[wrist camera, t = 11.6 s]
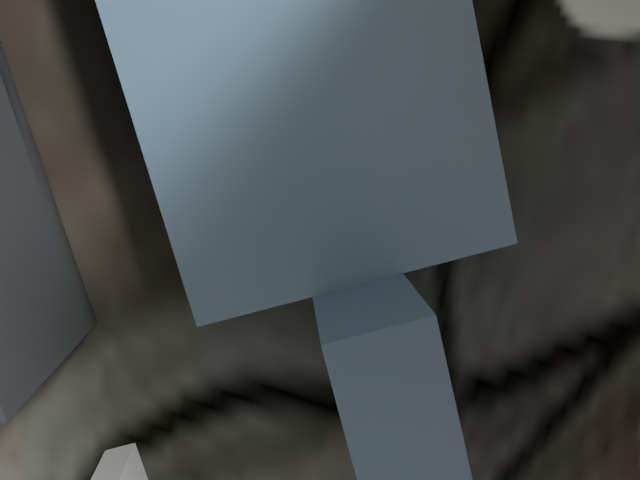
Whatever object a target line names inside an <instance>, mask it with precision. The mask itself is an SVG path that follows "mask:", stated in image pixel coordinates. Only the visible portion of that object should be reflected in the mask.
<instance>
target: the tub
mask: <svg viewBox="0 0 640 480" xmlns="http://www.w3.org/2000/svg"><path fill="white" fill-rule="evenodd" d="M96 324H97V323H96V320H95V317H94V314H93V312H92V309H91V306H90V303H89V300H88V297H87V294H86V291H85V288H84V285H83V282H82V279H81V277H80V274H79V271H78V268H77V265H76V262H75V259H74V256H73V253H72V250H71V247H70V244H69V241H68V239H67V236H66V233H65V230H64V227H63V224H62V221H61V218H60V215H59V212H58V209H57V206H56V203H55V201H54V198H53V195H52V192H51V189H50V186H49V183H48V180H47V177H46V174H45V171H44V168H43V166H42V163H41V160H40V157H39V154H38V151H37V148H36V145H35V142H34V139H33V136H32V133H31V130H30V128H29V125H28V122H27V119H26V116H25V113H24V110H23V107H22V104H21V101H20V98H19V95H18V92H17V90H16V87H15V84H14V81H13V78H12V75H11V72H10V69H9V66H8V63H7V60H6V57H5V55H4V52H3V49H2V46H1V43H0V424H4V423H8V421H9V420H10V419H11V418H12V417H13V416H14V415H15V414H16V413H17V411H18V410H19V409H20V408H21V407H22V406H23V405H24V404H25V403H26V401H27V400H28V399H29V398H30V397H31V396H32V395H33V394H34V393H35V392H36V390H37V389H38V388H39V387H40V386H41V385H42V384H43V383H44V382H45V380H46V379H47V378H48V377H49V376H50V375H51V374H52V373H53V372H54V370H55V369H56V368H57V367H58V366H59V365H60V364H61V363H62V362H63V360H64V359H65V358H66V357H67V356H68V355H69V354H70V353H71V352H72V351H73V349H74V348H75V347H76V346H77V345H78V344H79V343H80V342H81V341H82V339H83V338H84V337H85V336H86V335H87V334H88V333H89V332H90V331H91V329H92V328H93V327H94V326H95V325H96Z"/></svg>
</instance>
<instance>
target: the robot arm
mask: <svg viewBox="0 0 640 480" xmlns="http://www.w3.org/2000/svg"><path fill="white" fill-rule="evenodd" d="M91 480H148V478H147V475H146V472H145V469H144V466H143V464H142V461H141V458H140V455H139V452H138V449H137V447H136V444H135V443H132V444H128V445H124V446H120V447H117V448H113V449H109V450H105V452H104V454H103V456H102V458H101V460H100V462H99V464H98V466H97V468H96V470H95V472H94V474H93V476H92V478H91Z"/></svg>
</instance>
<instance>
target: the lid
mask: <svg viewBox="0 0 640 480" xmlns="http://www.w3.org/2000/svg"><path fill="white" fill-rule="evenodd" d="M95 2H96V5H97V9H98V12H99V15H100V18H101V21H102V25H103V28H104V31H105V34H106V38H107V41H108V44H109V47H110V50H111V54H112V57H113V60H114V63H115V66H116V70H117V73H118V76H119V79H120V82H121V86H122V89H123V92H124V95H125V99H126V102H127V105H128V108H129V111H130V115H131V118H132V121H133V124H134V127H135V131H136V134H137V137H138V140H139V144H140V147H141V150H142V153H143V156H144V160H145V163H146V166H147V169H148V172H149V176H150V179H151V182H152V185H153V188H154V192H155V195H156V198H157V201H158V205H159V208H160V211H161V214H162V217H163V221H164V224H165V227H166V230H167V233H168V237H169V240H170V243H171V246H172V250H173V253H174V256H175V259H176V262H177V266H178V269H179V272H180V275H181V278H182V282H183V285H184V288H185V291H186V294H187V298H188V301H189V304H190V307H191V311H192V314H193V317H194V320H195V323H196V327H200V326H204V325H208V324H211V323H215V322H219V321H223V320H227V319H231V318H234V317H238V316H242V315H246V314H250V313H254V312H257V311H261V310H265V309H269V308H273V307H277V306H280V305H284V304H288V303H292V302H296V301H300V300H303V299H307V298H311V297H312V298H313V304H314V310H315V315H316V321H317V327H318V332H319V338H320V344H321V348H322V352H323V356H324V359H325V363H326V367H327V371H328V374H329V378H330V382H331V386H332V389H333V393H334V397H335V400H336V404H337V408H338V412H339V415H340V419H341V423H342V427H343V430H344V434H345V438H346V442H347V445H348V449H349V453H350V457H351V460H352V464H353V468H354V472H355V475H356V479H357V480H473V479H472V474H471V470H470V465H469V461H468V456H467V452H466V447H465V443H464V438H463V434H462V429H461V425H460V420H459V416H458V411H457V407H456V402H455V398H454V393H453V389H452V384H451V380H450V375H449V371H448V366H447V362H446V357H445V353H444V348H443V344H442V339H441V335H440V330H439V326H438V321H437V317H436V314H435V313H434V312H433V310H432V309H431V308H430V307H429V305H428V304H427V303H426V302H425V300H424V299H423V298H422V297H421V295H420V294H419V293H418V292H417V290H416V289H415V288H414V286H413V285H412V284H411V283H410V281H409V280H408V279H407V278H406V276H405V275H404V274H403V273H407V272H410V271H414V270H418V269H422V268H426V267H430V266H433V265H437V264H441V263H445V262H449V261H453V260H456V259H460V258H464V257H468V256H472V255H476V254H479V253H483V252H487V251H491V250H495V249H498V248H502V247H506V246H510V245H514V244H518V242H517V237H516V231H515V226H514V221H513V215H512V210H511V205H510V199H509V194H508V189H507V183H506V178H505V173H504V167H503V162H502V157H501V151H500V146H499V141H498V135H497V130H496V125H495V119H494V114H493V108H492V103H491V98H490V92H489V87H488V82H487V76H486V71H485V66H484V60H483V55H482V50H481V44H480V39H479V34H478V28H477V23H476V18H475V12H474V7H473V2H472V0H95Z"/></svg>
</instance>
